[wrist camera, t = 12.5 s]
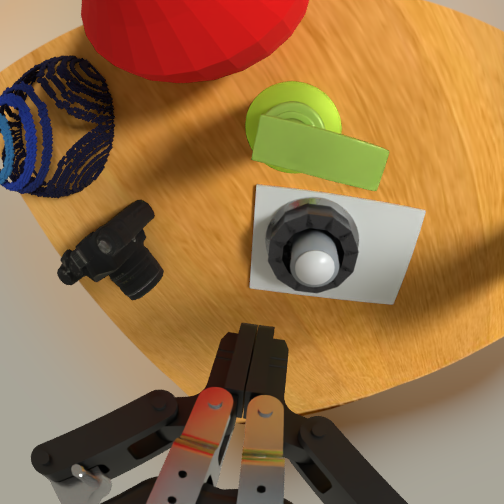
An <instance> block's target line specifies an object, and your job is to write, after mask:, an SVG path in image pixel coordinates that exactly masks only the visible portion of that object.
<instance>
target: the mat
mask: <svg viewBox="0 0 504 504" xmlns="http://www.w3.org/2000/svg"><path fill="white" fill-rule="evenodd" d="M305 197H321V198H326V199H329V200H332V201H334V202H336V203H338V204H339V205H341V206H342V207H343V208H345V209H346V210H347V211H348V212H349V214H350V215H351V216H352V218H353V219H354V221H355V224H356V226H357V229H358V233H359V246H358V251H359V253H358V257H357V261H356V264H355V268H354V272H353V273H352V274H351V275H350V276H349V277H348V278H347V279H346V280H345V281H344V282H343V283H342V284H341V285H339V286H338V287H336V288H333V289H330V290H327V291H323V292H320V293H309V292H301V291H295V290H293V289H292V288H290V287H289V286H287V285H285V284H284V283H282V282H281V281H279V280H278V279H277V278H276V276H275V274H274V272H273V270H272V268H271V266H270V265H269V263H268V254H267V250H266V244H265V237H266V231H267V228H268V225H269V223H270V221H271V219H272V217H273V216H274V214H275V213H276V212H277V211H278V210H279V209H280V208H282V207H283V206H284V205H286V204H287V203H289V202H291V201H294V200H296V199H300V198H305ZM425 212H426V211H425V210H423V209H418V208H413V207H408V206H403V205H398V204H392V203H387V202H381V201H375V200H370V199H364V198H358V197H351V196H345V195H338V194H332V193H325V192H318V191H310V190H303V189H295V188H286V187H278V186H269V185H260V184H257V185H256V199H255V214H254V229H253V244H252V259H251V274H250V288H253V289H260V290H267V291H275V292H283V293H290V294H298V295H307V296H315V297H324V298H332V299H341V300H351V301H360V302H370V303H380V304H391V305H393V304H394V301H395V299H396V296H397V294H398V291H399V289H400V286H401V284H402V281H403V279H404V276H405V273H406V271H407V268H408V265H409V262H410V259H411V257H412V254H413V251H414V248H415V245H416V242H417V239H418V235H419V232H420V229H421V226H422V222H423V219H424V216H425Z"/></svg>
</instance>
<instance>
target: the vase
mask: <svg viewBox="0 0 504 504" xmlns="http://www.w3.org/2000/svg"><path fill="white" fill-rule="evenodd" d="M308 2H309V0H82V10H81V17H82V21H83V25H84V29H85V33H86V36H87V37H88V39H89V41H90V42H91V44H92V45H93V47H94V48H95V50H96V51H97V53H99V54H100V55H101V56H103V57H104V58H105V59H106V60H108V61H109V62H110V63H112V64H113V65H114V66H116V67H118V68H121V69H123V70H125V71H127V72H129V73H132V74H135V75H137V76H140V77H143V78H145V79H148V80H152V81H163V82H172V83H191V82H199V81H208V80H216V79H219V78H222V77H225V76H228V75H231V74H234V73H237V72H240V71H243V70H245V69H247V68H248V67H250V66H252V65H254V64H255V63H257V62H259V61H261V60H262V59H264V58H266V57H268V56H270V55H271V54H272V53H273V52H274V51H275V50H276V49H277V48H278V47H279V46H280V45H282V44H283V43H284V42H285V41H286V40H287V39H288V38H289V37H291V35H292V34H293V32H294V30H295V29H296V27H297V26H298V24H299V23H300V21H301V20H302V18H303V17H304V15H305V13H306V10H307V6H308Z"/></svg>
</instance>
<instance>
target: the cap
mask: <svg viewBox="0 0 504 504" xmlns="http://www.w3.org/2000/svg"><path fill="white" fill-rule="evenodd" d="M290 269H291V273H292V275H293V277H294V278H295V280H297V281H298V282H299V283H301V284H302V285H305V286H308V287H320V286H324V285H326V284H328V283H330V282H331V281H332V280H333V279H334V278H335V277H336V275H337V274H338V271H339V260H338V255H337V249H336V244H335V239H334V236H333V234H331V233H330V232H329V231H327V230H322V229H314V228H308V229H305V230H303V231H300V232H297V233H295V235H294V237H293V240H292V251H291V263H290Z"/></svg>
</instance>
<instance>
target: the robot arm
mask: <svg viewBox="0 0 504 504" xmlns="http://www.w3.org/2000/svg"><path fill="white" fill-rule="evenodd" d="M257 327H258V331H257ZM274 329H275V327H269V326H262V325H259V326H258V325H254V324H248V323H241V326H240V330H239V334H237V333H231V332H228V333H227V334H226V335H225V336H224V337H223V338H222V339H221V342H220V345H219V348H218V351H217V354H216V358H215V361H214V364H213V367H212V370H211V373H210V377H209V380H208V383H207V385H206V387H205V389H204V390H203V391H202V392H200V393H199V394H197V395H194V396H190V397H174V395H173V394H171V393H170V392H168V391H165V390H154V391H151V392H149V393H148V394H146V395H144V396H142V397H140V398H138V399H136V400H134V401H132V402H130V403H128V404H126V405H124V406H122V407H120V408H118V409H116V410H114V411H112V412H111V413H108V414H107V415H104V416H102V417H100V418H98V419H96V420H94V421H92V422H90V423H88V424H85V425H84V426H81V427H79V428H77V429H75V430H72V431H70V432H68V433H66V434H64V435H61V436H59V437H56V438H54V439H52V440H50V441H47V442H45V443H42V444H40V445H38V446H36V447H35V448H34V450H33V451H32V454H31V462H32V465H33V467H34V468H35V470H36V471H38V472H39V473H41V474H42V475H44V476H45V477H46V478H47V479H49V480H50V482H51V484H52V486H53V488H54V490H55V492H56V494H57V496H58V498H59V500H60V502H61V504H99V503H100V501H101V499H102V498H103V497H105V496H106V495H107V494H109V492H110V490H111V487H112V483H111V479H113V478H115V477H117V476H119V475H121V474H123V473H125V472H127V471H129V470H131V469H133V468H135V467H137V466H139V465H141V464H143V463H144V462H146V461H148V460H150V459H152V458H153V457H155V456H157V455H159V454H161V453H163V452H164V451H166V450H168V449H169V448H171V449H170V451H169V453H168V456H167V458H166V460H165V462H164V465H163V467H162V469H161V471H160V474H159V476H158V477H153V478H149V479H147V480H145V481H142V482H141V483H139V484H137V485H135V486H133V487H132V488H130V489H128V490H126V491H124V492H122V493H121V494H119V495H117V496H115V497H113V498H111V499H109V500H107V501H105V502H103V503H101V504H293V503H292V502H290V501H288V500H286V499H284V474H285V472H284V471H285V459H284V457H285V458H288V459H289V460H290V462H291V463H292V464H293V466H294V467H295V468H296V470H297V471H298V472H299V473H300V475H301V476H302V477H303V479H304V480H305V481H306V482H307V483H308V485H309V486H310V487H311V488H312V490H313V491H314V492H315V493H316V495H317V496H318V497H319V498H320V499H321V501H322V502H323V503H324V504H408V503H407V502H406V501H405V500H404V499H403V498H402V497H401V496H400V495H399V494H398V493H397V492H396V491H395V490H394V489H393V488H392V487H391V486H390V485H389V484H388V483H387V482H386V480H385V479H383V477H382V476H381V475H380V474H379V473H378V472H377V471H376V470H375V469H374V468H373V467H372V466H371V465H370V463H369V462H368V461H367V460H366V459H365V458H364V457H363V456H362V455H361V454H360V453H359V451H358V450H357V449H356V448H355V447H354V446H353V445H352V444H351V443H350V442H349V440H348V439H347V438H346V437H345V436H344V435H343V434H342V433H341V431H340V430H339V429H338V428H337V427H336V426H335V425H334V423H333V422H332V421H331V420H329V419H327V418H325V417H321V416H314V417H310V418H308V419H307V418H305V417H303V416H300V415H298V414H295V413H294V412H292V411H291V410H290V409H289V408H288V407H287V405H286V404H285V400H284V393H285V383H286V373H287V362H288V351H289V349H288V347H287V344H286V342H285V340H279V339H273V336H274ZM243 409H244V415H243V418H245V419H246V426H245V435H244V444H243V453H242V461H241V470H240V479H239V488H238V489H226V490H223V489H219V488H217V487H216V485H217V482H218V479H219V475H220V470H221V466H222V463H223V460H224V457H225V454H226V451H227V448H228V445H229V442H230V439H231V436H232V432H233V429H234V426H235V422H236V417H238V418H242V414H243Z"/></svg>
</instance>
